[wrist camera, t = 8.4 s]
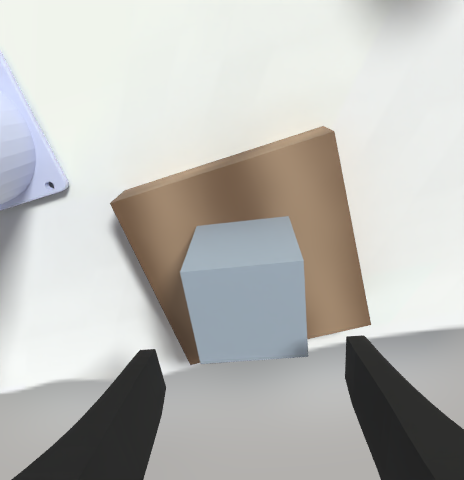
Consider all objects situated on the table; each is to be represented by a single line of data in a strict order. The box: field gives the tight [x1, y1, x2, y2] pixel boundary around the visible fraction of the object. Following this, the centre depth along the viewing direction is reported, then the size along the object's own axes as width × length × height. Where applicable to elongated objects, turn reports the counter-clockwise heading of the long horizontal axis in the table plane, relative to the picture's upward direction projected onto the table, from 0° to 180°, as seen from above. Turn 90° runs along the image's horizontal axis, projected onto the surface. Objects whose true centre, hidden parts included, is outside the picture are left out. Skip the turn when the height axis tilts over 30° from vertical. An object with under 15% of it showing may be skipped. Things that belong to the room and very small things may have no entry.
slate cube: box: [180, 216, 308, 364], centre depth 17 cm, size 5×5×5 cm
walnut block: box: [110, 126, 371, 365], centre depth 20 cm, size 12×12×3 cm
